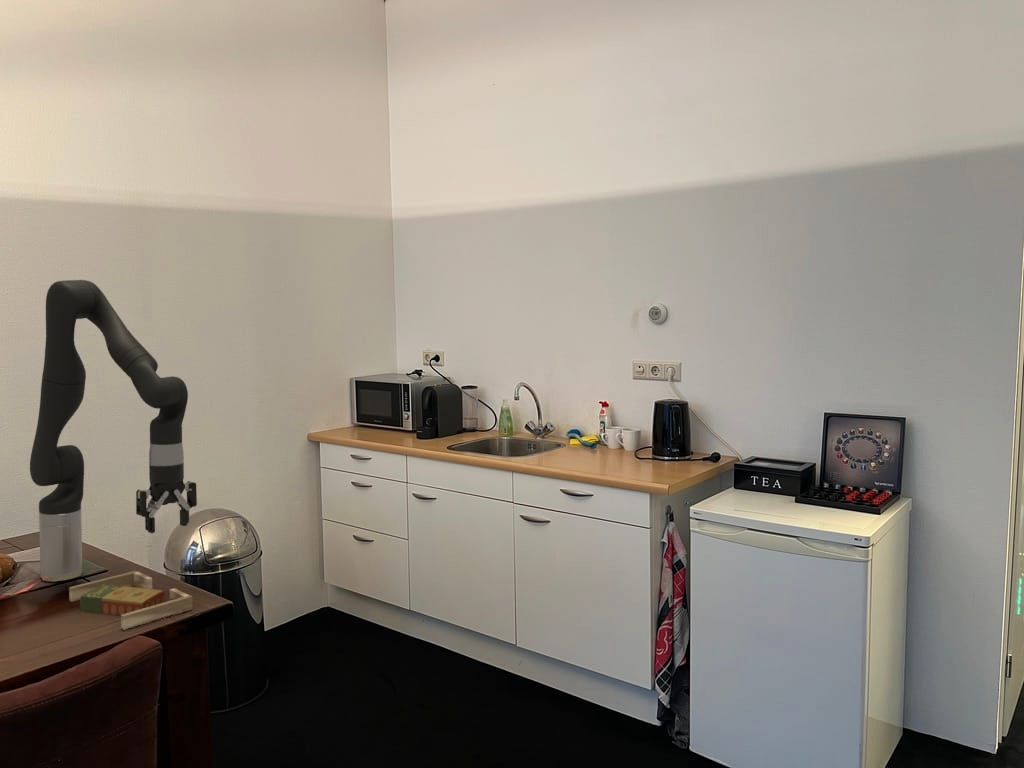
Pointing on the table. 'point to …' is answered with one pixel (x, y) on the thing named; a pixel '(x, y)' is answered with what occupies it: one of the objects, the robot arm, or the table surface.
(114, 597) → the carton
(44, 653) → the table surface
